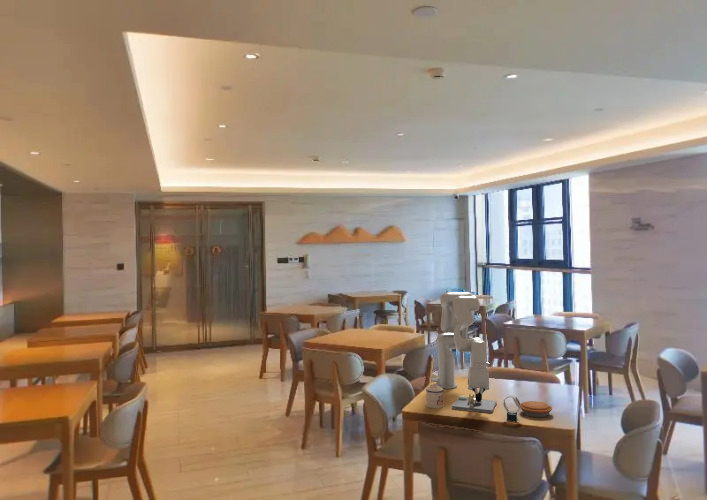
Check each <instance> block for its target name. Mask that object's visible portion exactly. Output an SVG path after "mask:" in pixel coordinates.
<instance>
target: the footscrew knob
mask: <svg viewBox="0 0 707 500" xmlns="http://www.w3.org/2000/svg"><path fill="white" fill-rule="evenodd" d="M467 398H468V403H469V406H474V405H475V404H481V403H482V400H481V402H477V401H476V400H475V393H474V394H473V393H469V394H468V396H467Z"/></svg>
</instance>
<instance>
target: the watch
mask: <svg viewBox="0 0 707 500" xmlns="http://www.w3.org/2000/svg"><path fill="white" fill-rule="evenodd" d="M509 398H512V399H513V402H514V404H515V405H516V406H515V407H517V408H518V409H517V410H510V409H509V407H508V406H507V404H506V400H507V399H509ZM502 405H503V407H504V410H505V411H506V421H509V422H517V420H518V412H519V411H520V409H521V408H520V407H521V402H520V400H519V399H518V397H517V396H515V395H507V396H505V398H504V400H503V403H502Z"/></svg>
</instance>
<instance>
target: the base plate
mask: <svg viewBox="0 0 707 500" xmlns="http://www.w3.org/2000/svg"><path fill="white" fill-rule="evenodd" d="M496 406H497V400H494V399H493V400H492V399H484V398H482V403H481V404H475V405H474V406H469V403H468V396H467V395H458V397H457V399H456V400H455V401H454V403H453V404H452V406H451V409H452V410H459V411H468V412H479V413H485V414H486V413H487V414H493V413H494V410H495V408H496Z"/></svg>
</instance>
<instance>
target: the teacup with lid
mask: <svg viewBox="0 0 707 500" xmlns="http://www.w3.org/2000/svg"><path fill="white" fill-rule="evenodd" d="M425 391H426V397H425V398H426V407H427V408H430V409H442V408H444V388H441V387H439V386H437V384H436V382H433V383H432V385H431V386H427V387H426V389H425Z"/></svg>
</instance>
